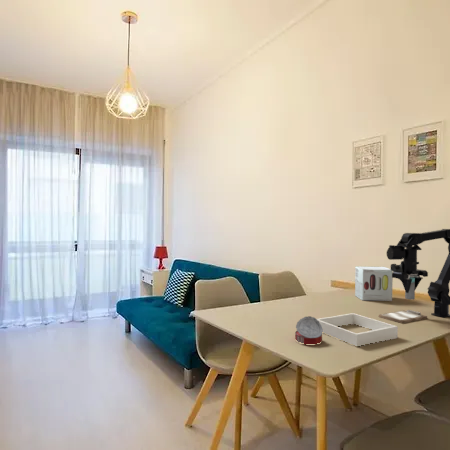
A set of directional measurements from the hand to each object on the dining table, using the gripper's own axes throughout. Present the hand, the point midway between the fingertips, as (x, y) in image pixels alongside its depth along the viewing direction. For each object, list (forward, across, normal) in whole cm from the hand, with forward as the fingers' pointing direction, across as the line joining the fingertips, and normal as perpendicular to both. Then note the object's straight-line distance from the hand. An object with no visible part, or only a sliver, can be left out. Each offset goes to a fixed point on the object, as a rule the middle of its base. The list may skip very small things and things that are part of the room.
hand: (409, 292), depth 167 cm
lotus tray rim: (+11, +44, +7) cm, 46 cm away
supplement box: (+12, -17, -35) cm, 41 cm away
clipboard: (+12, +5, 0) cm, 13 cm away
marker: (+3, 0, 0) cm, 3 cm away
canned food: (+12, +66, +5) cm, 67 cm away
